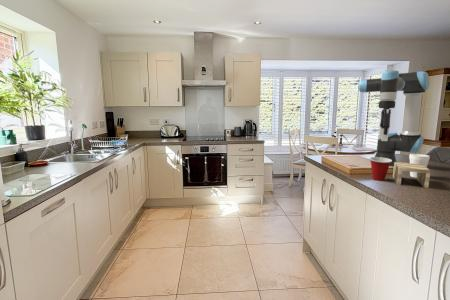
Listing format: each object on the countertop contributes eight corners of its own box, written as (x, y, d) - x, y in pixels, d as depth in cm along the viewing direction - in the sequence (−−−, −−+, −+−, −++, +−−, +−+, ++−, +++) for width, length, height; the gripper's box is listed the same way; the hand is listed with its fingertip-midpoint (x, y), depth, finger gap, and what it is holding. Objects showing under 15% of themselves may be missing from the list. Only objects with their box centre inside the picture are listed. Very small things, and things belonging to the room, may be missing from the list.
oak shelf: (392, 176, 146) (394, 161, 145) (419, 179, 140) (421, 164, 139) (397, 184, 130) (399, 167, 129) (428, 187, 125) (430, 170, 123)
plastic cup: (368, 180, 137) (370, 159, 135) (366, 176, 147) (368, 156, 145) (391, 183, 133) (394, 161, 131) (388, 178, 142) (390, 158, 141)
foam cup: (426, 179, 141) (430, 157, 139) (406, 176, 146) (409, 155, 145) (426, 176, 148) (429, 155, 146) (407, 173, 154) (409, 153, 152)
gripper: (377, 101, 145) (373, 137, 149) (381, 99, 123) (376, 141, 127) (392, 101, 142) (388, 138, 145) (399, 99, 120) (394, 142, 123)
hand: (382, 139), depth 136 cm, fingers open, 13 cm apart
